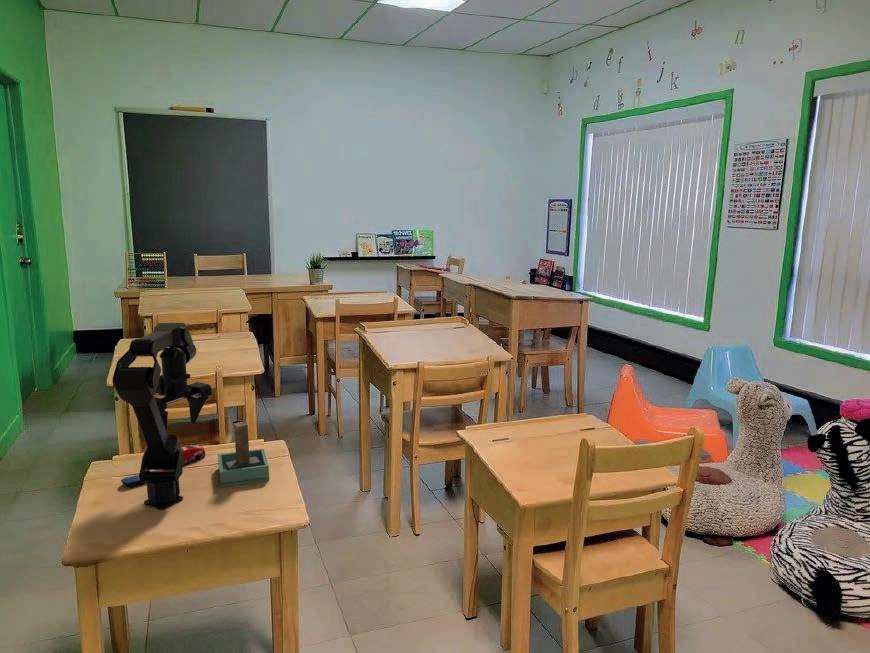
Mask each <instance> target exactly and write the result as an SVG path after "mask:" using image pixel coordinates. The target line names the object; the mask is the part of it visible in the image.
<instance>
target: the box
mask: <svg viewBox="0 0 870 653" xmlns="http://www.w3.org/2000/svg"><path fill="white" fill-rule="evenodd" d="M250 457H257V458H258V460H259V461H260V466H254V467H247V468H239V469H232V470H226V462H230V461H235V460H236V451H233V452H226V453H219V454H217V459H218V460H217V462H218V463H217V464H218V473H219V481H220V482H219V483H220V487H221V488H223V487H229V486H237V485H243V484H244V485H245V484H251V483H259V482H264V481H265V482H266V481H270V471H269V470H270V466H269V462H268V460H267V455H266V452H265V448H258V449H251V450H250V449H249V458H250Z"/></svg>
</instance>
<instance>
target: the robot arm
mask: <svg viewBox="0 0 870 653" xmlns="http://www.w3.org/2000/svg"><path fill="white" fill-rule="evenodd" d="M161 351H162V352H161ZM158 353H160V354H159V359H160V361H161V365H160V363H159V362H158V359H157V358H158ZM196 354H197V348H196V346H195V344H194V340H193V338H192V335H191V332H190V329H189V327H187V326H186V323H185V322H159V323H157V324H156V325H155V326H154V327H153V331H152V332H150V333H148V334H146V335H144V336H142V337H140V338H135V339H131V341H130V344H129V348H128V349H127V351H126V352H125V353H124V354H123V355H122V356H121V357H120V358H119V359H117V362H116V365H115V368H114V371H113V375H112V387H113V388H114V389H115V391H116V393H117V395H118V397H119V398H120V399H121V400H122V401H123V402H124V401H125V402H126V403H127V404H129V405H131V407H132V410H133V412H134V414H135V418H136V421H137V423H138V426H139V428H140V430H141V433H142V434H141V435H142V437H143V439H144V441H145V444H146V446H145V449H144V452H143V455H142V458H141V465H140V469H139V474H138V475H139V479H140V482H147V484H146V488H147V489H146V490H147V492H146V493H147V499H145V500H144V501H143V504H144V505H148V506H150V507H153V508H156V509H158V510H164V509H166V508H168V507H170V506H172V505H174V504H176V503H178V502H180V501H182V500H184V496H182V495H180V494H181V491H180V477H181V476H182V475H183V473H184V472H183V471H184V470H183V469H184V465H183V451H182V450H181V444H180V441H179V438H178V436H177V435H176V434H168V433H167V431H168V430H167V429H168V418H169V417H168V416H169V411H166V409H167V407H168V405H169V404H172V403H175V402H178V401H181V400H183V399H186V400H187V402H188V406H189V417H190V418H189V419H190V422H191V424H193V425H195V424H196V423H197V420H198V419H199V416H200V413H201V410H202V409H203V407H204V404H205V403H206V402H207V400H209V396H212V395H213V388H212V386H211V384H209V383H206V382H205V383H204V382H200V381H197V382H193V383H190V384H188V379H191V374H190V373H187V364H188V363H190V362H191V361H192V359H194V358H195V356H196ZM137 357H139V358H140V357H152V359H153V366H131V365H132V364H133V363H134V362H135V361H136V360H137ZM156 394H158V396H161V397H160V398H159V397H156V396H155V395H156ZM162 396H164V397H162ZM164 469H173V470H164ZM155 470H163V471H155Z"/></svg>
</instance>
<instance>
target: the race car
mask: <svg viewBox="0 0 870 653" xmlns="http://www.w3.org/2000/svg"><path fill="white" fill-rule="evenodd" d="M180 448H181V450H182V451H183V466H185V465H188V464H190V463H193V462H195V461H196V462H197V461H200V460H201V459H203V458H205V457H206V450H205V447H203V446H202V445H195V444H194V445H192V444H191V445H185V446H180ZM163 471H174V469H164V470H163Z"/></svg>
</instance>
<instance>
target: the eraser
mask: <svg viewBox="0 0 870 653" xmlns="http://www.w3.org/2000/svg"><path fill="white" fill-rule="evenodd" d="M154 471H164V470H154ZM120 482H121V483H122V485H123V486H125V487H126V488H128V489H134V488H138V487H140V486H144V485H147V482H140V479H139V474H135V475H130V476H126V477H124V478H122V479H121V480H120Z"/></svg>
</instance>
